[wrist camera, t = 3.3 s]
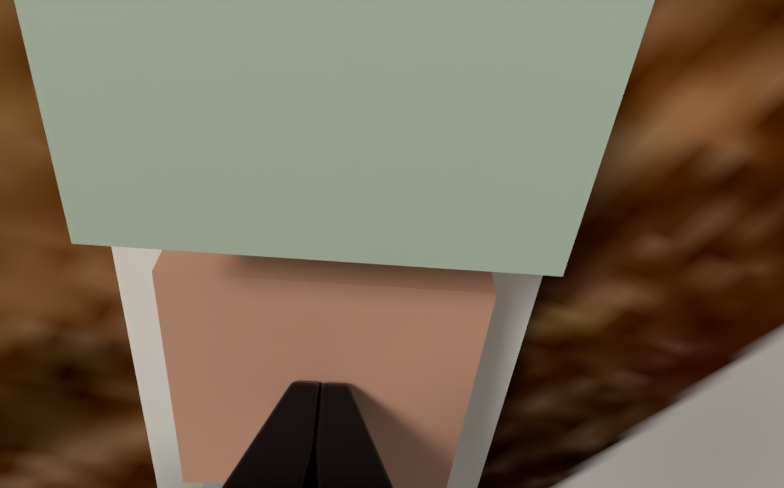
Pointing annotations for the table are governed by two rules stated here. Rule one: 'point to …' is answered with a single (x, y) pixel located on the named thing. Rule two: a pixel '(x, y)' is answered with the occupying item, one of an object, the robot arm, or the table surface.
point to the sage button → (332, 124)
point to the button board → (482, 408)
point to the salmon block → (320, 352)
